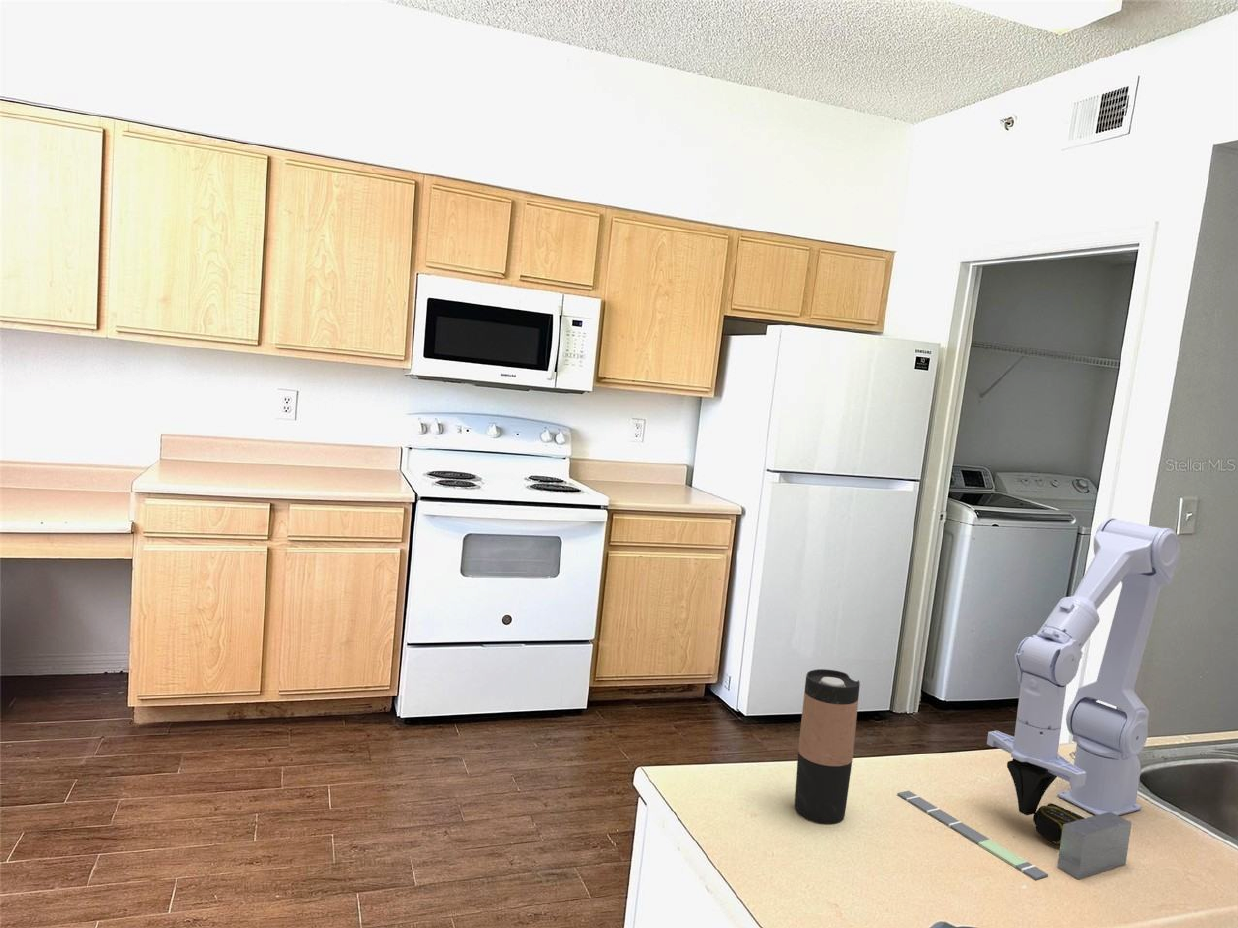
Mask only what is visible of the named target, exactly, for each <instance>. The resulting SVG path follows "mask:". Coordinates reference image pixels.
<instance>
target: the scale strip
mask: <svg viewBox="0 0 1238 928" xmlns="http://www.w3.org/2000/svg"><path fill="white" fill-rule="evenodd" d="M896 794H897V796H898V797H900V798H901V799H903V800H905V801H906V802H908V803H909V804H911V805H912V806H914V807H916V808H918V809H920V810H921V811H923V812H924V813H926V814H927V815H929V816H930V817H933V818H934V819H935V820H937V821H938V822H940V823H942V824H944V825H946V826H947V827H948V828H949V829H952V830H953V831H955V832H957V833H958V834H960V835H962V836H964V837H965V838H966V839H968V840H969V841H971V842H973V843H975V844H976V845H978V846H979V847H981V848H982V849H984V850H986V851H987V852H989V853H991V854H992V855H994V856H995V857H997V858H999V859H1000V860H1001V861H1004V862H1005V863H1006V864H1008V865H1010V866H1011V867H1014V868H1015V869H1017V870H1018V871H1019V872H1021V873H1023V874H1025V875H1026V876H1028V877H1030V878H1032V879H1033V880H1035V881H1038V880H1040V879H1044V878H1047V877H1049V874H1048V873H1047V872H1045V871H1044V870H1042V869H1040V868H1038V867H1037V866H1036V865H1035V864H1032V863H1031V862H1029V861H1027V860H1026V859H1024V858H1023V857H1021V856H1019V855H1018V854H1015V852H1013V851H1011V850H1010V849H1008V848H1006V847H1004V845H1003V846H1002V845H1001V844H999V843H998V842H996V841H994V840H993V839H990V838H988V837H987V836H985V835H984V834H982V833H980V832H978V831H977V830H975V829H974V828H972V827H970V826H969V825H968V824H965V823H964V822H962V821H961V820H959V819H957V818H955V817H954V816H952V815H950V814H949V813H947V812H945V811H944V810H942V809H941V808H940V807H937V806H935V805H933V804H932V803H930V802H929V801H927V800H925V799H924V798H922V797H921V796H920V795H917V794H915V793H914V792H912V791H911V790H905V791H900V792H897V793H896Z"/></svg>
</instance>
